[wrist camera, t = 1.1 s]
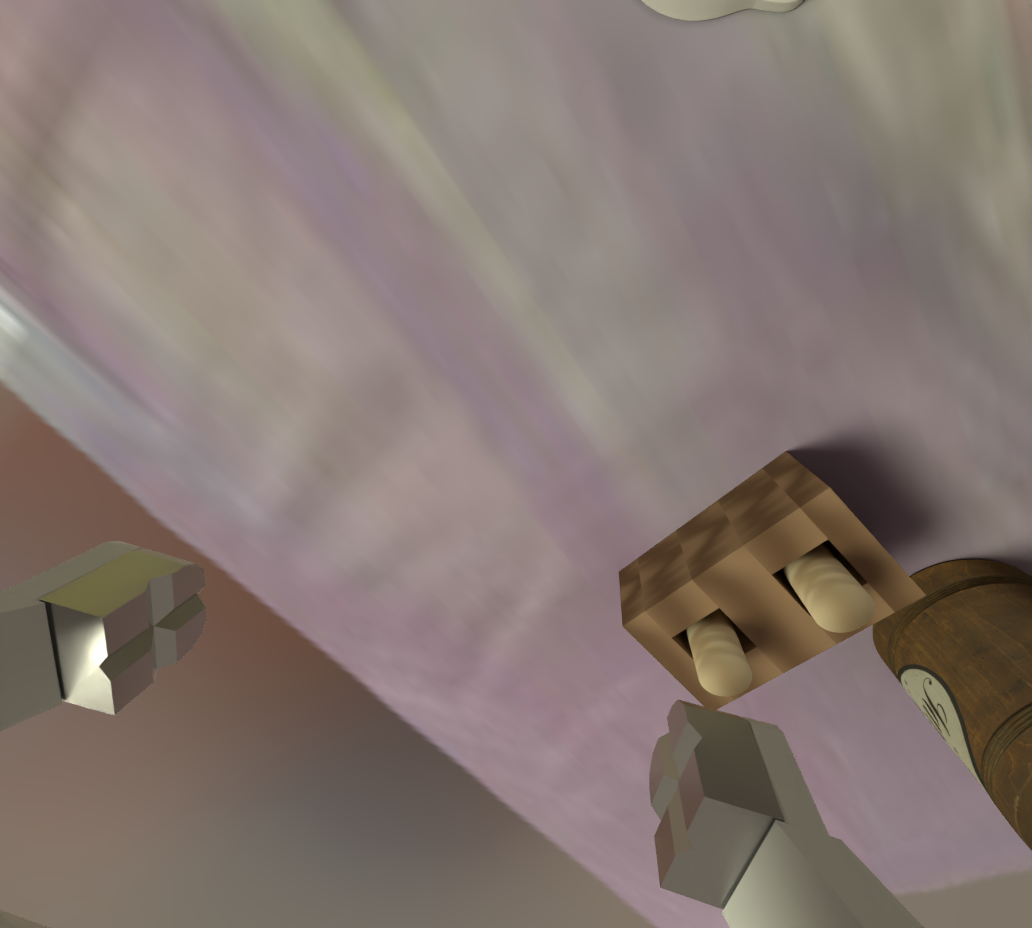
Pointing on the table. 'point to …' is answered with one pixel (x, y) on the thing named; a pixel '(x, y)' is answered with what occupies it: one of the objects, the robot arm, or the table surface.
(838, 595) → the peg
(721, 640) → the peg
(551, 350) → the table surface
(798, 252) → the table surface
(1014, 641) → the wooden container
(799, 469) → the socket block
